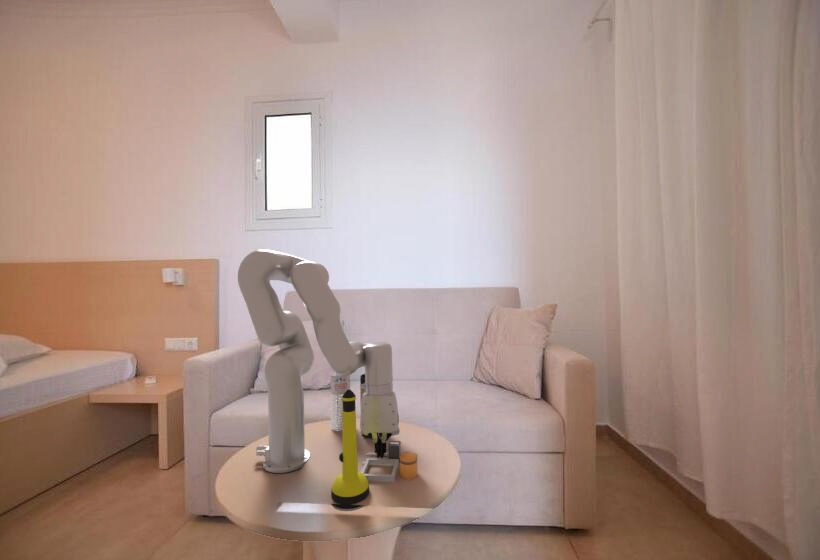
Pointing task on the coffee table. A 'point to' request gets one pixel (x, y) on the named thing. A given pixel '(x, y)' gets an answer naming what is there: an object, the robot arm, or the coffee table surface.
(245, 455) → the coffee table surface
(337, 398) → the water bottle
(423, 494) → the coffee table surface
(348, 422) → the flashlight
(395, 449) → the breaker toggle
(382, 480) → the board
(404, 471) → the cap
